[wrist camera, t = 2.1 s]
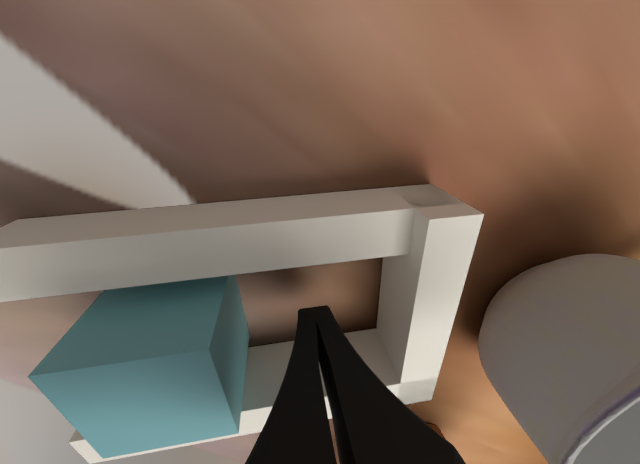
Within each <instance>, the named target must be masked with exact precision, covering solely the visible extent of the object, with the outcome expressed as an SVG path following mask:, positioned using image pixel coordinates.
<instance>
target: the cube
mask: <svg viewBox="0 0 640 464" xmlns="http://www.w3.org/2000/svg"><path fill="white" fill-rule="evenodd" d="M249 335H250V334H249V330H248V325H247V321H246V317H245V313H244V308H243V304H242V300H241V296H240V291H239V287H238V283H237V279H236V275H227V276H219V277H210V278H202V279H193V280H185V281H176V282H168V283H159V284H151V285H143V286H134V287H126V288H117V289H109V290H104V291H103V292H102V293H101V294H100V296H99V297H98V298H97V299H96V300H95V301H94V302H93V304H92V305H91V306H90V307H89V308H88V309H87V310H86V311H85V313H84V314H83V315H82V316H81V317H80V318H79V319H78V320H77V322H76V323H75V324H74V325H73V326H72V327H71V328H70V329H69V331H68V332H67V333H66V334H65V335H64V336H63V337H62V338H61V340H60V341H59V342H58V343H57V344H56V345H55V346H54V348H53V349H52V350H51V351H50V352H49V353H48V354H47V355H46V357H45V358H44V359H43V360H42V361H41V362H40V363H39V364H38V366H37V367H36V368H35V369H34V370H33V371H32V372H31V373H30V375H29V376H28V377H29V378H30V380H31V381H32V382H33V383H34V384H35V385H36V386H37V387H38V388H39V389H40V390H41V392H42V393H43V394H44V395H45V396H46V397H47V398H48V399H49V400H50V401H51V403H53V405H54V406H55V407H56V408H57V409H58V410H59V411H60V412H61V413H62V414H63V416H64V417H65V418H66V419H67V420H68V421H69V422H70V423H71V424H72V425H73V427H74V428H75V429H76V430H77V431H78V432H79V433H80V434H81V435H82V436H83V438H84V439H85V440H86V441H87V442H88V443H89V444H90V445H91V446H92V447H93V448H94V450H95V451H96V452H97V453H98V454H99V455H100V456H101V457H102V458H103V459H104V458H110V457H115V456H120V455H126V454H131V453H136V452H142V451H147V450H152V449H158V448H163V447H168V446H174V445H179V444H184V443H190V442H195V441H201V440H206V439H211V438H217V437H222V436H227V435H233V434H238V433H239V425H240V416H241V407H242V398H243V389H244V380H245V371H246V362H247V353H248V344H249Z"/></svg>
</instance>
